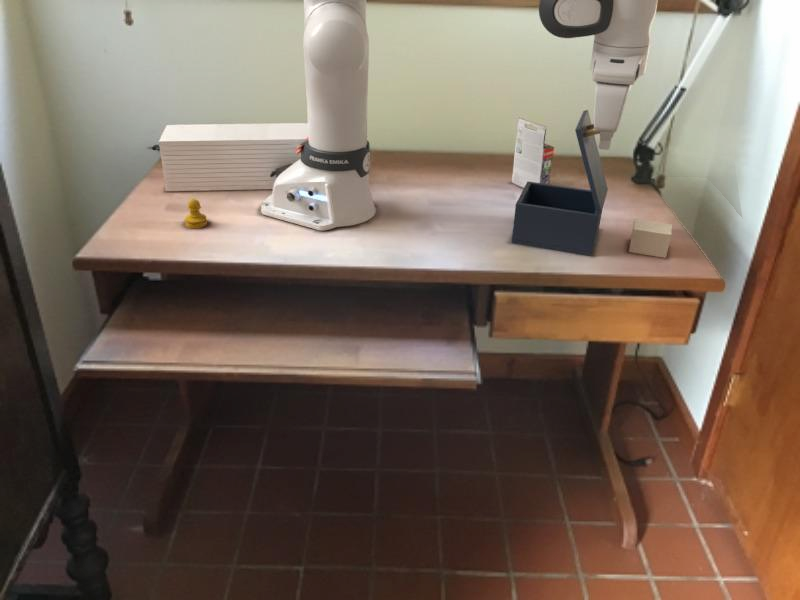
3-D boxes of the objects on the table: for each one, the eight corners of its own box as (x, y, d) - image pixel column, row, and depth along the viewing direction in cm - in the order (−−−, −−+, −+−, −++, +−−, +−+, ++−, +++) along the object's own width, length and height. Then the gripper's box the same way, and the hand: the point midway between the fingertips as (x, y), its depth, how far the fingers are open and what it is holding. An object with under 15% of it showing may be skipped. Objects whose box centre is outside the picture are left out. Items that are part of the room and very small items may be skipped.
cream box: (628, 252, 136) (633, 229, 134) (630, 241, 140) (635, 218, 137) (666, 258, 134) (671, 234, 132) (666, 246, 138) (672, 224, 136)
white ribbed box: (166, 191, 155) (158, 141, 150) (173, 172, 164) (166, 124, 159) (321, 188, 159) (319, 138, 153) (320, 170, 168) (318, 122, 162)
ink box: (522, 179, 165) (529, 114, 158) (549, 191, 160) (558, 123, 153) (510, 183, 163) (517, 117, 156) (538, 195, 158) (546, 127, 151)
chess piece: (211, 221, 143) (208, 197, 141) (199, 229, 140) (196, 205, 137) (193, 218, 144) (190, 194, 142) (181, 226, 141) (177, 201, 139)
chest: (511, 243, 138) (515, 203, 134) (523, 218, 148) (527, 181, 144) (592, 256, 134) (598, 216, 130) (598, 230, 144) (605, 192, 140)
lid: (575, 129, 124) (602, 122, 122) (583, 110, 134) (609, 103, 132) (597, 214, 130) (623, 208, 128) (603, 190, 140) (628, 184, 138)
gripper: (605, 46, 132) (594, 123, 139) (592, 73, 115) (580, 159, 122) (642, 49, 130) (629, 127, 137) (634, 76, 113) (620, 164, 120)
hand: (606, 142), depth 130 cm, fingers open, 5 cm apart
